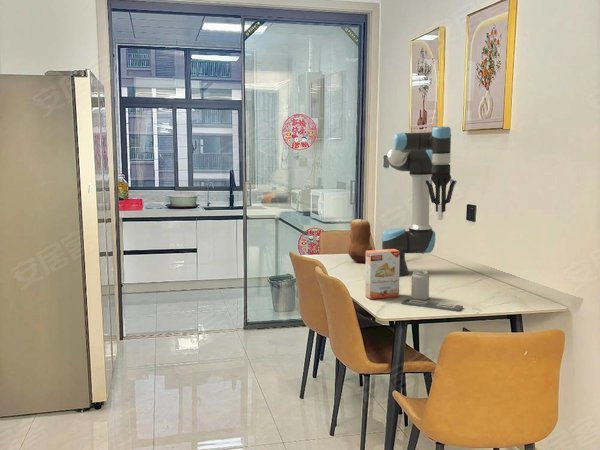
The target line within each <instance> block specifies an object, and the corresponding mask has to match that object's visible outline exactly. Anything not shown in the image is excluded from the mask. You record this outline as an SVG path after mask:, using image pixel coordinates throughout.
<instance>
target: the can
mask: <svg viewBox="0 0 600 450" xmlns="http://www.w3.org/2000/svg"><path fill="white" fill-rule="evenodd" d="M410 287H411V292H410V293H411V299H413V300H421V301H427V300H428V299H429V298H430V275H429V274H428V271H426V270H414V271H412V274H411V285H410Z"/></svg>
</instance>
